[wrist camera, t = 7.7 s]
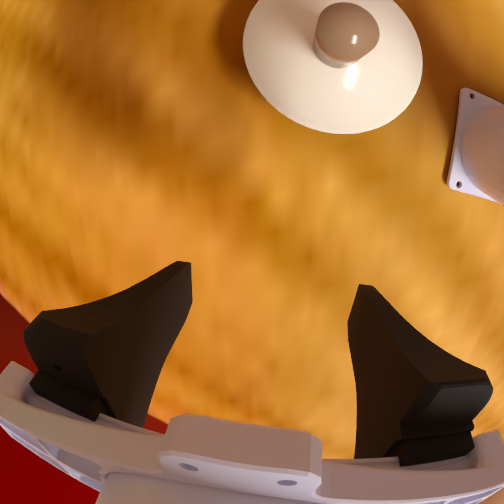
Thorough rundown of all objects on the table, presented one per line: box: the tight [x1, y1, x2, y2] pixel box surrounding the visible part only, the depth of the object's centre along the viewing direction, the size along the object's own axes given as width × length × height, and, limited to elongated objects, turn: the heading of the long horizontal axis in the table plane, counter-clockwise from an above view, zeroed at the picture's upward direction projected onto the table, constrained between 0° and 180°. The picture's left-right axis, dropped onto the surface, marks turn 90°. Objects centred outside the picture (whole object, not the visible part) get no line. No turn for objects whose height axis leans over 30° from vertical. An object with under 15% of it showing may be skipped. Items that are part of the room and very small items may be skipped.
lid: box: [243, 0, 423, 134], centre depth 11 cm, size 10×10×5 cm
